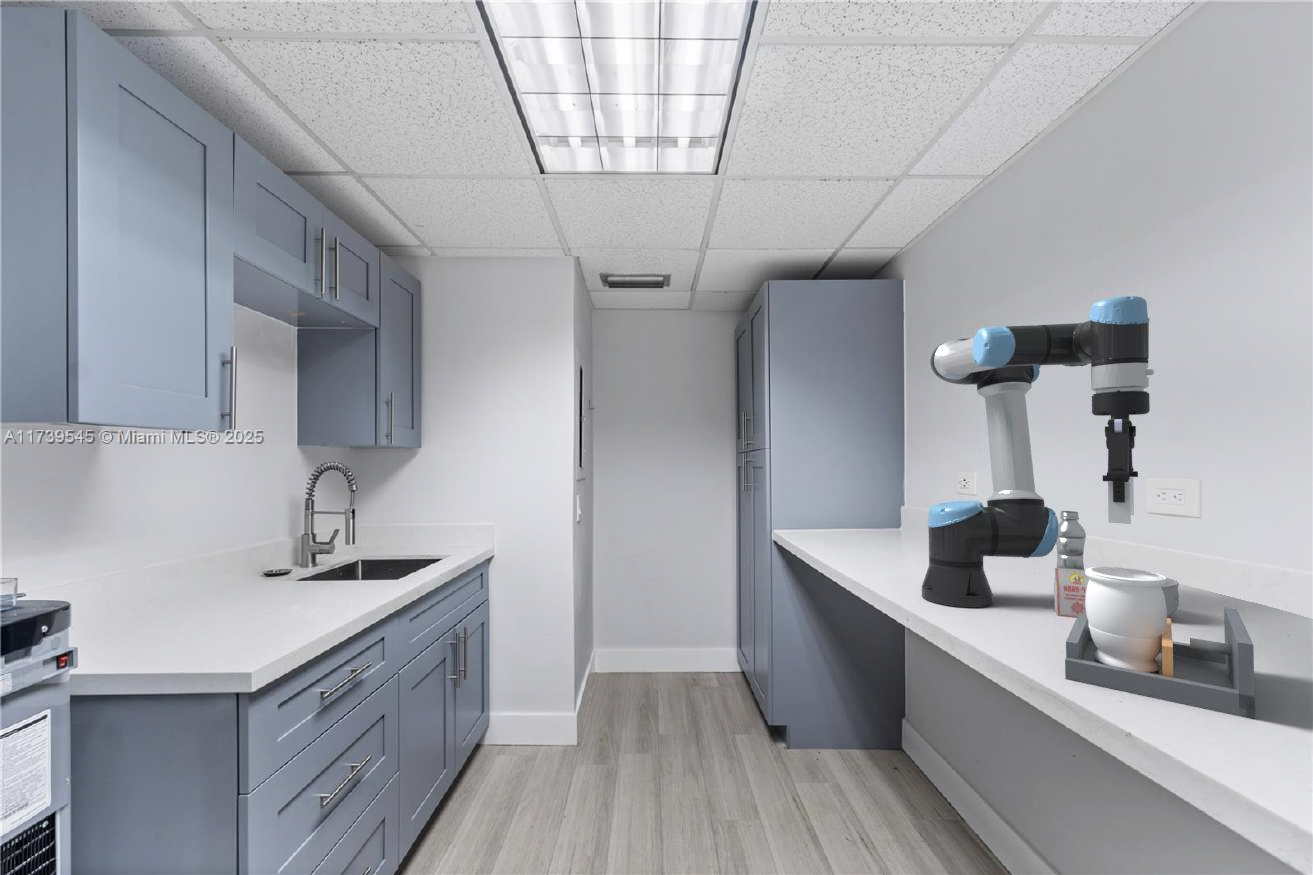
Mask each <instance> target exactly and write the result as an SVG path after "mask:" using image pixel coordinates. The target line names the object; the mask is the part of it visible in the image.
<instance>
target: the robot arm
mask: <svg viewBox="0 0 1313 875" xmlns="http://www.w3.org/2000/svg"><path fill="white" fill-rule="evenodd" d="M1148 314H1149V313H1148V302H1147V300H1146V299H1145V298H1144V297H1142V296H1136V295H1135V296H1134V295H1133V296H1132V295H1131V296H1129V295H1128V296H1127V295H1126V296H1118V297H1117V296H1116V297H1112V298H1111V297H1110V298H1105V299H1100V300H1098V301H1095V302H1094V303H1092V305H1091V306H1090V314H1089V316H1088V319H1089V320H1088V321H1083V322H1078V323H1053V324H1038V325H1037V324H1036V325H1009V326H1008V325H1007V326H1006V325H996V326H995V325H994V326H990V327H989V326H987V327H982V328H980V329H979V330H977V332H976V334H975V336H974V337H971V338H970V337H969V338H968V337H967V338H957V339H952V340H951V339H950V340H948V341H945V342H942V343H941V344H939V345H938V346H936V348H935V349H934V350H933V352H931V357H930V367H931V368H930V369H931V370H932V372H933V373H934V375H935V376H936V377H938V379H940V380H942V381H944V382H947V383H951V384H954V385H976V390H977V394H978V395H979V396H981V397H982V398H983V399H984V402H985V412H986V413H985V414H986V424H987V436H988V445H989V447H988V448H989V457H990V458H989V459H990V470H991V480H992V492H993V493H992V494H991V496H990V497H989V498H987V499H986V503H987V506H984V504H983V503H982V502H981V501H979V500H958V501H957V500H954V501H947V502H940V503H937V504H933V505H932V506H931V507H930V508H929V511H928V521H927V527H928V567H927V571H926V573H925V575H924V579H923V581H922V584H921V597H922V598H923V599H924V600H926V601H929V602H933V603H936V604H939V605H940V604H941V605H945V606H951V607H958V608H960V607H961V608H983V607H989V606H991V605H993V592H992V589H991V586H990V583H989V581H988V578H987V576H986V573H985V572H986V571H985V570H984V557H999V558H1000V557H1003V558H1006V557H1007V558H1022V559H1023V558H1024V559H1030V558H1043V557H1045V556H1048V555H1049V554H1050V553H1052V551H1053V550H1054V548H1055V546H1056V542H1057V538H1058V529H1059V527H1058V524H1059V520H1058V516H1057V515H1056V512H1055V510H1053V508H1050V507H1048V506H1045V499H1044V498H1043V497H1042V496H1041V495H1039V494H1038V493H1037V491H1036V485H1035V474H1034V467H1033V466H1034V465H1033V458H1032V449H1031V448H1032V447H1031V446H1032V445H1031V438H1030V428H1029V419H1028V417H1029V416H1028V411H1027V410H1028V409H1027V408H1028V407H1027V400H1026V399H1027V398H1026V394H1027V393H1028V392H1029V391H1030V390H1031V389H1032V385H1033V384H1032V383H1035V382H1036V381H1037V379H1039V376H1040V368H1041V366H1064V367H1071V368H1073V367H1084V366H1088V365H1089V364H1090V366H1091V367H1090V382H1091V384H1090V388H1091V390H1092V391H1093V392H1095V393H1093V394H1092V396H1091V414H1092V415H1094V416H1099V417H1100V416H1101V417H1102V416H1103V417H1107V416H1110V419H1108V420H1107V425H1108V426H1107V425H1106V426H1104V436H1105V438H1106V440H1105V445H1106V446H1105V447H1106V449H1107V451H1108V452H1107V472H1106V474H1105V475H1104V474H1103V475H1102V482H1107V503H1108V504H1107V509H1108V512H1107V513H1108V516H1107V517H1108V523H1109V524H1110V523H1111V524H1125V525H1131V523H1132V518H1131V516H1134V515H1135V503H1134V501H1135V498H1134V495H1135V494H1134V492H1135V491H1134V478H1138V477H1139V471H1136V470H1135V468H1134V467H1133V449H1134V448H1135V446H1136V445H1135V443H1136V442H1135V437H1137V426H1136V425H1133V422H1132V420H1130V416H1137V415H1138V416H1139V415H1141V416H1142V415H1146V414H1147V415H1148V413H1150V412H1151V411H1150V410H1151V409H1150V393H1149V391H1145V389H1147V388H1148V387H1149V386H1150V382H1149V381H1150V380H1149V379H1150V378H1149V376H1153V375H1154V373H1155V371H1154V370H1153V369H1150V368H1149V359H1150V357H1149V356H1150V352H1149V350H1150V348H1149V346H1150V344H1149V342H1150V341H1149V340H1150V339H1149V337H1150V334H1149V332H1150V331H1149V330H1150V327H1149V326H1150V323H1149V322H1150V317H1149V315H1148ZM1148 368H1149V369H1148ZM1134 470H1135V471H1134Z"/></svg>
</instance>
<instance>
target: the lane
mask: <svg viewBox="0 0 1313 875" xmlns="http://www.w3.org/2000/svg"><path fill="white" fill-rule="evenodd" d="M1223 612H1224V613H1223V620H1224V621H1223V626H1224V627H1223V628H1224V642H1221V641H1220V642H1219V641H1214V640H1206V639H1200V638H1194V637H1190V638H1189V643H1185V642H1179V641H1174V640H1172V643H1173V678H1172V677H1167V676H1163V674H1162V648H1161V651H1160V653H1159V654H1158V656H1157V657H1156V658H1155V660H1156V661H1157V663H1158V664H1159V667H1160V668H1159V670H1158V671H1155V672H1150V673H1146V672H1141V671H1136V670H1131V669H1126V668H1121V667H1115V666H1110V665H1105V664H1103V663H1101V662H1099V661H1097V660H1096V659H1095V657H1094V654H1095V652H1096V651H1097V650H1098V648H1097V647H1096V645H1095V643H1094V641H1093V639H1092V637H1091V633H1090V629H1089V622H1088V618H1087V616H1084V615H1078V616H1077V618H1075V621H1074V623H1073V625H1072V627H1071V629H1070V632H1069V634H1068V636H1067V638H1066V641H1065V653H1066V654H1065V659H1064V666H1065V667H1064V668H1065V669H1064V670H1065V672H1064V674H1065V675H1064V676H1065V678H1064V679H1065V680H1069V681H1075V682H1081V683H1085V684H1089V685H1094V686H1098V687H1103V688H1108V689H1112V690H1118V691H1122V692H1125V693H1126V692H1127V693H1131V694H1136V695H1141V696H1145V697H1151V698H1155V699H1158V700H1164V701H1167V702H1168V701H1169V702H1173V703H1178V704H1181V705H1183V704H1184V705H1188V706H1193V707H1196V708H1201V709H1206V710H1211V711H1217V712H1220V713H1225V714H1230V715H1234V716H1239V717H1243V718H1249V719H1254V720H1256V708H1255V707H1256V706H1255V705H1256V704H1255V702H1256V701H1255V700H1256V699H1255V695H1256V694H1255V660H1254V659H1255V658H1254V656H1255V655H1254V648H1255V647H1254V643H1253V640H1252V639H1251V636H1250V635H1249V632H1248V630H1247V628H1246V626H1245V624H1244V621H1243V618H1242V617H1241V615H1240V613H1239V611H1238V609H1237V608H1233V607H1232V608H1231V607H1225V606H1224V607H1223Z"/></svg>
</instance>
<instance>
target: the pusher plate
mask: <svg viewBox="0 0 1313 875" xmlns="http://www.w3.org/2000/svg"><path fill="white" fill-rule="evenodd" d="M1172 641H1173V632H1172V619H1171V618H1170V617H1168V618H1167V623H1166V629H1165V633H1164V634H1162V674H1163V676H1167V677H1172V678H1173V643H1172Z"/></svg>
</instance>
